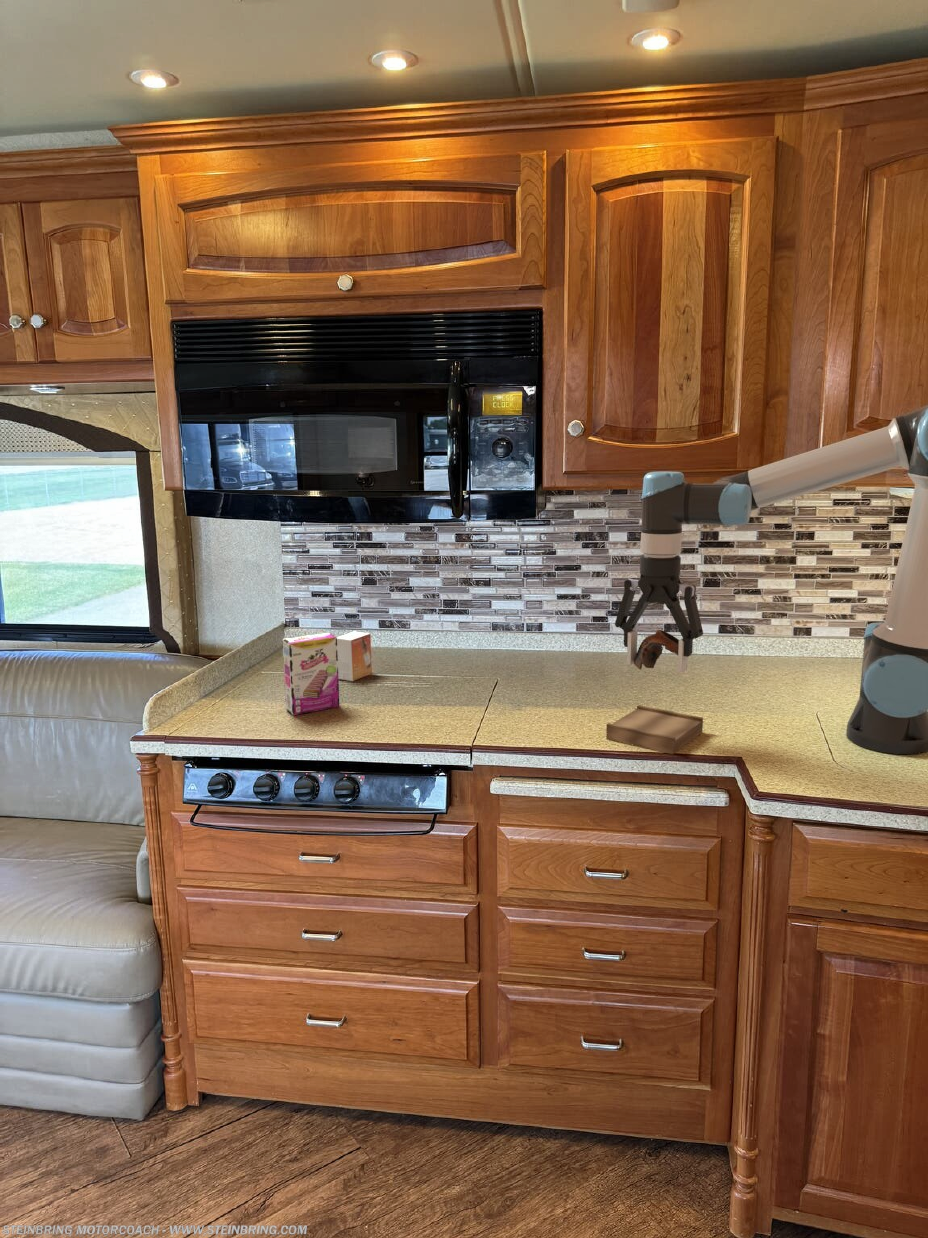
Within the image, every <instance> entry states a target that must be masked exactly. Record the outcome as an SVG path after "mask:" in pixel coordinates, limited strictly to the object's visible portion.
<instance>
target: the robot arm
mask: <svg viewBox="0 0 928 1238" xmlns="http://www.w3.org/2000/svg"><path fill="white" fill-rule="evenodd" d="M897 468H903V469H904V470H907V476H908V477H909V478H910V480H911V481H912V482H913V485H914V489H913V495H912V499H911V503H910V508H909V512H908V517H907V522H906V526H905V531H904V535H903V538H902V544H901V548H900V553H899V558H898V562H897V566H896V571H895V575H894V579H893V584H892V587H891V593H890V598H889V602H888V606H887V611H886V616H885V620H884V622H881V621H880V622H871V623H869V624H867V626H866V627H865V632H864V635H863V640H864V642H863V652H862V662H861V664H862V665H861V675H860V676H861V677H860V685H859V686H860V687H859V697H858V700H857V702H856V704H855V706H854V708H853V711H852V713H851V715H850V717H849V719H848V721H847V724H846V733H845V735H846V738H847V739H848V740H849V741H850V742H852V743H854V744H855V745H857V746H859V747H862V748H866V749H868V750H871V751H876V752H880V753H886V754H896V755H915V754H914V753H918V754H920V753H919V752H923V753H927V752H928V404H926V405H924V406H921V408H918V409H915V410H913V411H911V412H909V413H907V414H903V415H900V416H898V417H897V416H896V417H894V418H893V419H892V420H891V421H890V423H889V424H888V425H887V426H885V427H881V428H879V429H876V430H872V431H869V432H865V433H861V434H859V435H856V436H853V437H850V438H846V439H843V440H840V441H837V442H834V443H831V444H828V445H825V446H822V447H818V448H816V449H812V450H809V451H806V452H803V453H799V454H797V455H793V456H791V457H787V458H783V459H781V460H778V461H775V462H772V463H767V464H765V465H762V466H758V467H756V468H753V469H750V470H748V471H744V472H740V473H738V474H734V475H729V476H724V477H722V478H719V479H716V481H715V482H712V483H709V482H708V483H706V482H705V483H704V482H703V483H693V482H692V483H691V482H686V479H685V475H684V473H683V472H681V471H665V470H664V471H649V472H647V473H646V474H645V475H644V477H643V483H642V493H641V494H642V495H641V498H640V499H641V529H640V532H641V534H640V547H639V549H640V553H642V555H641V556H640V557H639V558H640V559H639V574H640V575H639V578H638V579H635V578H628V579H625V580H624V582H623V589H624V591H623V595H622V599H621V601H620V602H621V603H620V606H619V608H618V612H617V616H616V618H615V622H614V626H615V627H616V628H620V629H622V631H623V647H624V648H627V650H626V653H627V654H626V655H627V657H626V665H627V666H632V665H635V664H634V661H635V658H636V653H637V651H638V630H637V629H635V628H636V625H637V624H638V622H639V620H640V619H641V617H642V615H643V614H644V612H645V611H646V609H647V607H648V605H649V604H650V603H651V604H654V603H657V604H659V605H665V606H666V608H667V609H668V610H669V612H670V614H671V616H672V619H673V621H674V622H675V624H676V626H677V629H678V631H679V633H680V635H681V637H682V638H681V639H679V649H678V655H677V674H680V675H682V674H685V672H687V671H688V657H690V656H692V654H693V645H694V642H693V641H694V639H698V638H700V637H701V636H702V637H703V635H704V630H703V626H702V621H701V618H700V617H701V615H700V613H699V608H698V603H697V600H696V599H697V598H696V594H697V593H696V592H697V586H696V585H695V584H691V585H687V584H682V582H681V579H680V578H681V567H682V566H681V564H682V563H681V561H682V560H681V559H682V557H681V556H680V555H679V554H680V553H682V537H683V536H682V532H683V525H691V524H692V525H709V526H710V525H712V526H726V527H731V526H745V525H747V524H748V523H749V521H750V517H751V511H755V510H757V509H761V508H764V507H767V506H770V505H774V504H778V503H781V502H784V501H785V502H786V501H788V500H791V499H794V498H799V497H802V496H804V495H808V494H812V493H814V492H818V491H822V490H825V489H828V488H832V487H836V486H839V485H842V484H846V483H849V482H852V481H855V480H859V479H862V478H866V477H869V476H872V475H876V474H881V473H883V472H886V471H887V472H888V471H889V470H892V469H897ZM638 588H639V589H640V591H641V593H642V594H641V596H640V597H639V599H638V601H637V604H636V605H635V607H634V609H633V611H632V612H631V613H630V611H631V608H632V604H633V600H634V598H635V595H636V590H638ZM679 592H680V593H681V596H682V597H683V601H684V606H685V611H686V615H687V617H686V615H685V613H684V612H685V611H684V610H683V609H682V606H681V602H680V600H679V597H678V596H677V595H678V594H679ZM629 614H630V615H629ZM926 751H927V752H926Z"/></svg>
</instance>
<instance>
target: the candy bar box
mask: <svg viewBox="0 0 928 1238" xmlns="http://www.w3.org/2000/svg"><path fill="white" fill-rule="evenodd" d="M337 637H338V636H336V635H334V634H333V633H330V632H323V633H317V634H308V635H302V636H301V635H300V636H294V637H285V638H282V639H281V641H282V643H281V644H282V657H283V672H284V674H283V677H284V679H283V680H284V695H285V697H284V698H285V710H286V711H287V712H289V713H290V714H291V715H292V716H298V715H302V714H303V715H304V714H308V713H313V712H318V711H324V710H329V709H335V708H338V707H340V685H339V684H340V682H339V680H340V679H339V677H338V653H337Z"/></svg>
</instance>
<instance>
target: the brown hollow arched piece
mask: <svg viewBox="0 0 928 1238" xmlns="http://www.w3.org/2000/svg"><path fill="white" fill-rule="evenodd" d="M679 640H680V639H678V638H677V637H675V636H674V635H672V634H670V633H668V632H666V631H665V630H662V629H657V630H656V631H655V633H654V634H650V635H648V636H646V637H644V639H642V642H641V643H640V644H639V647H638V649H637V653H636V658H635V661H634V664H633V665H634V666H635V667H636V668H637V669H639V670H642V668H643V666H644V667H645V669H654V667H655V666H656V664H657V660H658V659H660V656H661V655H662V654H663V651H664V649H665V650H667V651H669V652H670V653H672V654H675V655H677V656H678V649H679Z"/></svg>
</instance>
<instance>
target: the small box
mask: <svg viewBox="0 0 928 1238" xmlns="http://www.w3.org/2000/svg"><path fill="white" fill-rule="evenodd" d="M336 637H337V653H338V677H339V679H338V680H344V681H349V682H350V681H351V682H355V681H356V680H359V679H361V678H364V677H367V676H370V675H372V673H373V669H372V668H373V667H372V666H373V665H372V663H373V662H372V643H371V642H372V641H371V640H372V638H371V633H369V632H361V631H354V630H353V631H351V632H348V633H346V634H343V635H340V636H336Z"/></svg>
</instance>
